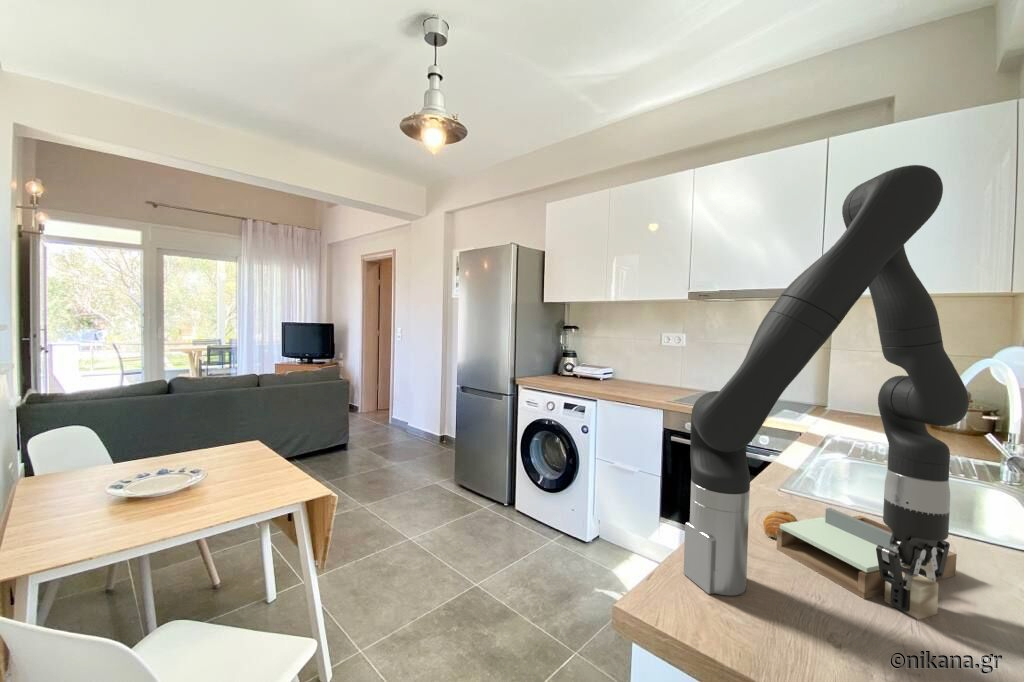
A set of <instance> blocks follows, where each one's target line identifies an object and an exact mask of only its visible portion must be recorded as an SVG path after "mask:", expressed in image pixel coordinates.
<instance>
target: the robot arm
mask: <svg viewBox="0 0 1024 682" xmlns="http://www.w3.org/2000/svg"><path fill="white" fill-rule="evenodd" d="M943 193H944V185H943V181H942V178H941V176H940V175H939V173H938V172H937V171H936V170H934V169H933V168H931V167H928V166H927V165H920V164H911V165H904V166H900V167H896V168H893V169H889V170H888V171H887V170H886V171H885V172H882V173H881V174H879V175H877V176H874V177H873V178H871V179H868V180H866V181H864V182H862V183H861V184H858V185H857V186H856V187H854V188H853V189H852V190H851V191H849V193H848V194H847V196H846V197H845V200H843V204H842V210H841V212H842V218H843V220H842V221H843V222H844V226H845V229H846V230H845V231H844V232H843V234H842V235H841V236H840V238H839V239H838V240H837V241H836V242H835V243H834V245H832V246H831V247H830V249H828V250H827V251H826V252H825V253H823V255H822V256H821V257H819V258H818V259H817V260H816V261H814V262H813V263H812V264H811V265H810V266H809V267H807V268H805V270H804V271H802V273H800V274H799V275H798V276H797V278H795V279H794V280H793V281H792V282H791V283H790V284H789V285H788V286H787V287H786V288H785V290H784V291H783V292H782V293H781V294H780V296H779V297H778V298H777V300H776V301H775V302H774V303H773V305H772V307H771V308H770V309H769V311H768V312H767V313H766V315H765V316H764V318H763V319H762V321H761V322H760V324H759V326H758V328H757V330H756V332H755V334H754V337H753V339H752V341H751V343H750V346H749V348H748V350H747V353H746V355H745V358H744V359H743V361H742V363H741V364H740V366H739V368H738V369H737V370H736V371H735V373H734V374H733V375H732V377H730V378H729V380H728V381H727V382H726V383H725V384H724V386H723V387H722V388H721V389H720V390H717V391H716V390H714V391H709V392H706V393H704V394H702V395H701V396H700V397H699V398H698V399H697V400H695V402H694V404H693V405H692V408H691V413H690V414H691V417H690V445H689V446H690V448H689V449H690V452H689V454H690V455H689V456H690V457H689V458H690V468H691V469H690V471H691V472H690V473H691V477H690V478H691V479H690V505H689V506H690V507H689V508H690V509H689V512H690V513H689V521H687V522H685V524H684V549H683V550H684V551H683V575H685V576H686V577H687V578H688V579H689V580H690V581H692V582H693V583H694V584H695V585H697V586H698V587H699V588H700V589H702V590H703V591H704V592H705V593H706V594H707V595H711V594H718V595H721V596H729V597H730V596H739V595H742V594H743V593H744V592H745V591H746V589H747V576H748V575H747V574H748V572H747V571H748V545H749V544H748V542H749V538H748V537H749V521H750V519H749V516H750V514H749V513H750V492H751V473H750V470H749V469H750V468H749V466H748V459H747V446H748V445H749V444H750V443H751V442H752V441H753V440H754V439H755V437H756V436H757V434H758V433H759V431H760V429H761V427H762V426H763V425H764V423H765V422H766V419H767V417H768V416H769V414H770V413H771V411H772V410H773V408H774V407H775V405H776V403H777V401H778V400H779V398H780V397H781V396H782V394H783V393H784V392H785V390H786V389H787V388H788V387H789V385H790V384H791V383H792V382H793V381H794V380H795V379H796V378H797V376H798V375H799V374H800V373H801V371H803V370H804V368H805V367H806V366H807V364H808V363H809V362H810V361H811V360H812V358H813V357H814V355H816V353H817V352H818V351H819V350H820V349H821V348H822V346H823V345H824V344H825V343H826V342H827V341H828V339H829V338H830V337H831V335H832V334H834V332H835V330H836V329H838V327H839V326H840V324H841V323H842V322H843V320H844V319H845V317H846V316H847V315H848V313H849V312H850V311H851V309H852V308H853V307H854V305H856V304H857V301H858V300H859V299H860V298H861V296H862V295H863V294H864V293H865V291H866V290H867V289H868V290H869V294H870V297H871V300H872V305H873V309H874V313H875V317H876V318H875V319H876V325H877V329H878V335H879V336H878V337H879V340H880V345H881V352H882V354H883V357H884V359H885V360H886V361H887V362H889V363H890V364H893V365H895V366H898V367H900V368H902V369H903V370H904V371H905V372H906V374H907V375H895V376H892V377H890V378H889V379H887V380H886V381H884V383H883V384H882V385H881V387H880V389H879V392H878V394H877V405H878V406H877V407H878V411H879V415H880V417H881V418H880V419H881V422H882V426H883V430H884V433H885V436H886V439H887V443H888V450H887V451H888V452H887V469H886V476H885V479H884V489H883V490H884V492H883V510H882V511H883V512H882V513H883V515H882V521H883V523H884V525H885V526H888V527H889V528H890V529H891V530H892V536H891V539H890V545H889V546H887V547H886V548H885V547H883V546H880V545H878V546H877V547H876V553H877V559H878V565H879V571H880V577H881V579H883V580H885V581H887V582H889V583H890V584H891V601H890V602H891V604H892V605H893V607H894V608H897V609H898V610H900V611H901V612H904V613H905V612H907V611H909V610H910V588H911V585H912V581H913V577H917V576H918V574H920V575H922V576H924V577H926V578H929V579H931V580H933V581H935V582H937V580H936V577H938V578H942V576H943V573H944V568H945V564H946V560H947V555H948V551H950V545H951V544H950V542H948V541H946V540H947V539H948V538H949V534H950V533H949V529H950V512H951V511H950V509H951V508H950V507H951V488H950V464H951V463H950V462H951V450H950V448H949V446H948V445H947V444H946V443H945V442H943V441H942V440H940V439H939V438H936V437H934V436H933V435H931V434H930V432H929V431H928V428H927V426H926V424H927V425H930V426H935V427H936V426H937V427H949V426H954V425H956V424H958V423H959V422H961V421H962V420H963V419H964V418H965V416H966V415H967V413H968V411H969V406H970V400H969V393H968V391H967V388H966V386H965V384H964V382H963V380H962V378H961V376H960V374H959V372H958V370H957V369H956V367H955V366H954V364H953V361H952V359H950V357H949V355H948V353H947V352H946V350H945V347H944V342H943V336H942V330H941V324H940V319H939V314H938V310H937V308H936V305H935V303H934V300H933V299H932V297H931V295H930V294H929V292H928V290H927V289H926V287H925V286H924V285H923V282H922V281H921V280H920V278H919V277H918V276H917V274H916V272H915V271H914V269H913V267H912V266H911V263H910V261H909V259H908V256H907V255H908V254H907V253H906V249H905V245H906V243H907V242H909V240H911V238H912V237H913V236H914V235H915V234H916V233H917V232H918V231H919V230H920V229H921V228H922V227H923V226H924V225H925V224H926V223H927V221H928V220H930V219H931V217H932V216H933V215H934V214H935V212H936V211H937V209H938V207H939V205H941V204H940V203H941V201H942V198H943ZM900 562H901V563H903V564H906V565H908V566H910V567H911V568H910V569H909V568H906V567H904V566H902V565H901V564H900ZM888 571H889V573H888ZM902 572H904V573H905V577H904V580H903V576H902ZM891 604H890V605H891ZM892 605H891V606H892Z"/></svg>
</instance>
